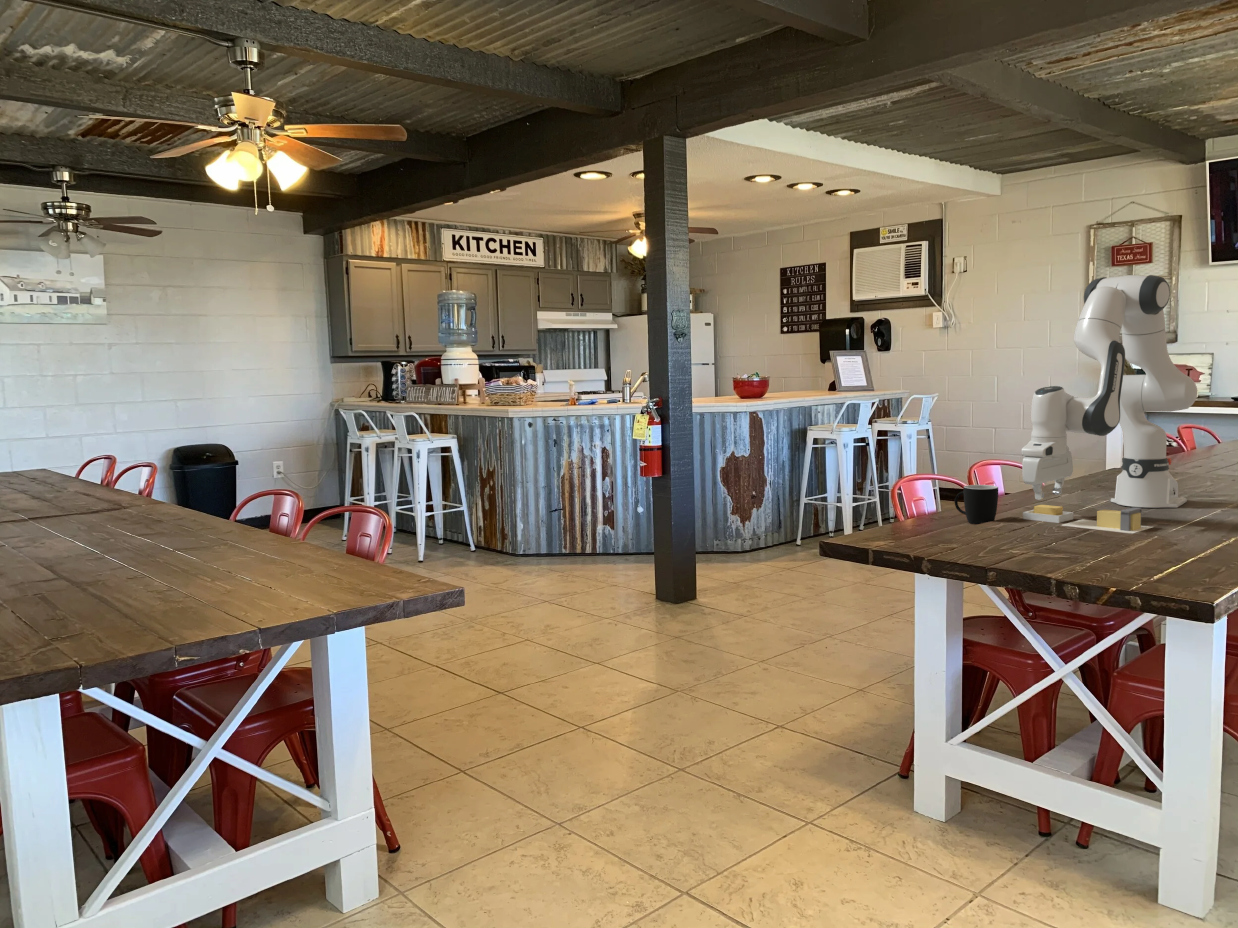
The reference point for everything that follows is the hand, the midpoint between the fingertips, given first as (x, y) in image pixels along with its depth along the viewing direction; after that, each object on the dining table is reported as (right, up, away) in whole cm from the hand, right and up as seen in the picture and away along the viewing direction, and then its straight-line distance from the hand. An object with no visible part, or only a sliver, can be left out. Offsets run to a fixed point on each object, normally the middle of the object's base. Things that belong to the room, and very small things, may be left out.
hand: (1048, 496), depth 251 cm
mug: (-18, -8, +5) cm, 20 cm away
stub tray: (0, -7, 0) cm, 7 cm away
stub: (0, -7, 0) cm, 7 cm away
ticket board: (+9, -8, -13) cm, 18 cm away
